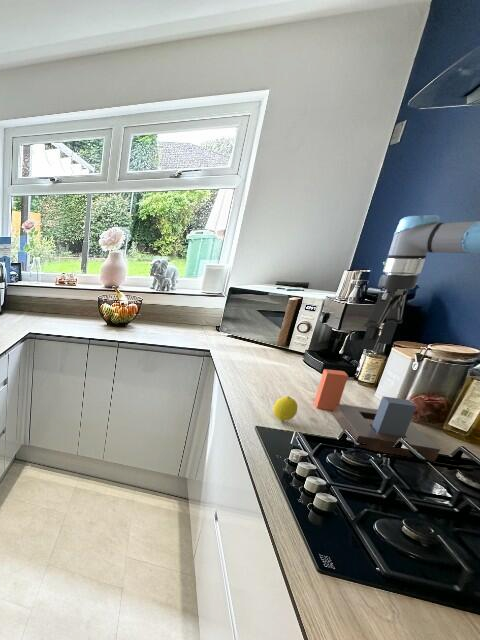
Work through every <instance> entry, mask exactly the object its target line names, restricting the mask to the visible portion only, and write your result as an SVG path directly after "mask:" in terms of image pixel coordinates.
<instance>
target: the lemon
mask: <svg viewBox="0 0 480 640" xmlns="http://www.w3.org/2000/svg"><path fill="white" fill-rule="evenodd" d="M272 408H273V409H272V412H273V415H274V416H275V418H277V419H278V420H279V421H280V422H285V421H289V420H292V419H293V418H294V417H295V416H296V415H297V413H298V403H297V401H296V400H295V399H294V398H292V397H291V396H289V395H287V396H283V397H280V398H278V399H277V400H276V401H275V403H274V405H273V407H272Z"/></svg>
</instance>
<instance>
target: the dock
mask: <svg viewBox="0 0 480 640" xmlns="http://www.w3.org/2000/svg"><path fill="white" fill-rule="evenodd" d="M377 411H378V408H377V409H375V408H371V407H370V408H369V407H364V406H363V407H362V406H356V405H355V406H354V405H347V404H342V403H339V404H335V406H334V409H333V411H332V413H331V415H332V416H333V417H334V419H335V421H336V422H337V424H338V425H339V426H340V428H341V430H342V431H343V430H348V431H349V432H350V434H352V436H353V437H354V439H355V440H356V442H357V443H365V444H367V445H355V444H354V446H353V448H354V447H360V448H366V449H369V450H368V451H371V450H373V451H372V452H377V451H378V452H377V453H382V452H383V453H382V454H388V453H389V454H388V455H393V454H395V455H394V456H399V455H401V456H400V457H404V456H407V457H406V458H410V457H413V455H412V454H411V453H410V452H409V451H408V450H407V449H402V448H395V447H393V446H394V445H395V443H396V442H397V440H398V439H399V438H401V437H399V436H393V435H387V434H381V433H376V432H375V431H374V429H373V428H372V424H373V422H374V419H375V416H376V413H377ZM402 438H403V439H404V440H405V441H407V442H408V443H409V444H410V445H411V446H412V447H413V448H414V449H416V450H417V452H418V453H420V454H421V455H422V456H423V457H425V458H426V459H427V460H429V461H428V462H433V463H435V462H436V460H437V458H438V456H439V453H440V451H441V449H440V448H439V446H437V445H436V444H435V443H434V442H433V441H432V440H431V439H430V438H429V437H428V436H426V434H424V433H423V431H421V430H420V429H419V428H418V427H417V425H415V424H414V423H413V421H410V424H409V426H408V429H407V431H406V434H405V436H404V437H402ZM360 448H359V449H360Z"/></svg>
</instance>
